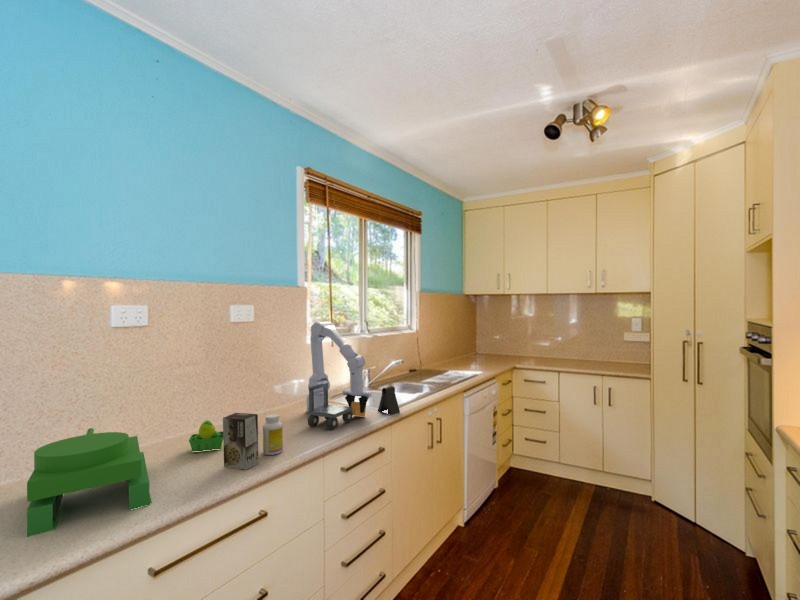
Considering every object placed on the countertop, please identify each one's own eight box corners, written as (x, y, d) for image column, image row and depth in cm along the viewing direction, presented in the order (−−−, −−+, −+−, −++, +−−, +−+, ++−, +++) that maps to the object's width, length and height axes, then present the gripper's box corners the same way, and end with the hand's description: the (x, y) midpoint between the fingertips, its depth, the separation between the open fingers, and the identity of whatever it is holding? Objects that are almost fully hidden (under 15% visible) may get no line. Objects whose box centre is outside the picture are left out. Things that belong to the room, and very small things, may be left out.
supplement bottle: (286, 450, 143) (286, 414, 143) (273, 456, 137) (273, 419, 137) (272, 448, 146) (271, 412, 146) (258, 454, 140) (258, 417, 140)
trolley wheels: (307, 427, 170) (307, 415, 170) (330, 417, 184) (330, 406, 184) (330, 431, 165) (330, 418, 165) (352, 420, 179) (352, 409, 179)
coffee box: (259, 463, 132) (258, 413, 132) (246, 470, 126) (245, 419, 126) (237, 460, 135) (236, 411, 135) (222, 467, 129) (222, 417, 129)
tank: (144, 466, 133) (144, 416, 134) (151, 506, 105) (151, 443, 105) (47, 486, 119) (47, 431, 120) (25, 538, 91) (25, 466, 91)
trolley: (308, 414, 172) (307, 387, 172) (326, 407, 183) (326, 381, 184) (334, 418, 166) (334, 389, 166) (352, 410, 177) (351, 384, 177)
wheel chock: (346, 414, 180) (348, 400, 182) (355, 415, 187) (357, 402, 189) (355, 415, 178) (357, 401, 180) (364, 416, 185) (366, 403, 187)
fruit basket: (225, 444, 151) (225, 414, 152) (223, 452, 143) (222, 420, 143) (192, 448, 148) (191, 417, 148) (187, 456, 139) (187, 423, 139)
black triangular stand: (400, 412, 191) (399, 387, 191) (391, 415, 187) (390, 389, 187) (386, 409, 197) (386, 385, 198) (377, 412, 193) (377, 387, 193)
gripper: (338, 382, 184) (339, 412, 184) (365, 384, 177) (365, 415, 177) (347, 379, 190) (347, 408, 190) (373, 382, 184) (374, 411, 183)
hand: (357, 411), depth 184 cm, fingers closed on wheel chock, 5 cm apart
